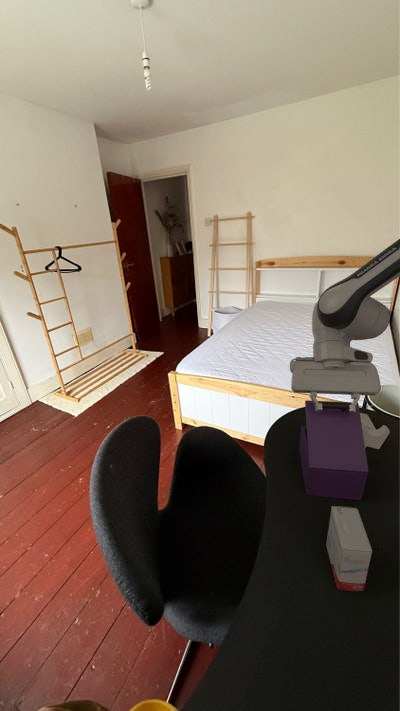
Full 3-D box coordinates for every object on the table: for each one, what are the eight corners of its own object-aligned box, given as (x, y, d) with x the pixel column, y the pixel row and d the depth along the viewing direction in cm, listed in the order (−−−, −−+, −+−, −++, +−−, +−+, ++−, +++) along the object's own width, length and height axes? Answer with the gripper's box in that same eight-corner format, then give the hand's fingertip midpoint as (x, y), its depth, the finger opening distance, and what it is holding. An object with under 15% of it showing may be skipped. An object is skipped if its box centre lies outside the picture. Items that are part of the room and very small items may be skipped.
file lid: (304, 401, 77) (307, 394, 73) (357, 403, 75) (363, 396, 71) (309, 467, 70) (312, 464, 66) (367, 472, 67) (374, 469, 63)
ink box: (364, 593, 54) (375, 554, 49) (334, 589, 55) (343, 550, 50) (349, 545, 62) (358, 507, 57) (324, 543, 63) (330, 504, 58)
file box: (299, 449, 87) (301, 426, 83) (345, 453, 85) (349, 428, 81) (306, 495, 73) (309, 468, 70) (361, 500, 71) (367, 473, 67)
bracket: (377, 451, 85) (390, 432, 82) (353, 445, 86) (364, 425, 82) (362, 423, 97) (373, 404, 93) (341, 417, 97) (350, 399, 94)
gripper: (290, 353, 75) (291, 407, 71) (379, 354, 71) (386, 412, 66) (288, 360, 81) (289, 411, 76) (370, 361, 77) (376, 415, 72)
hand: (335, 412), depth 71 cm, fingers closed on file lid, 6 cm apart
